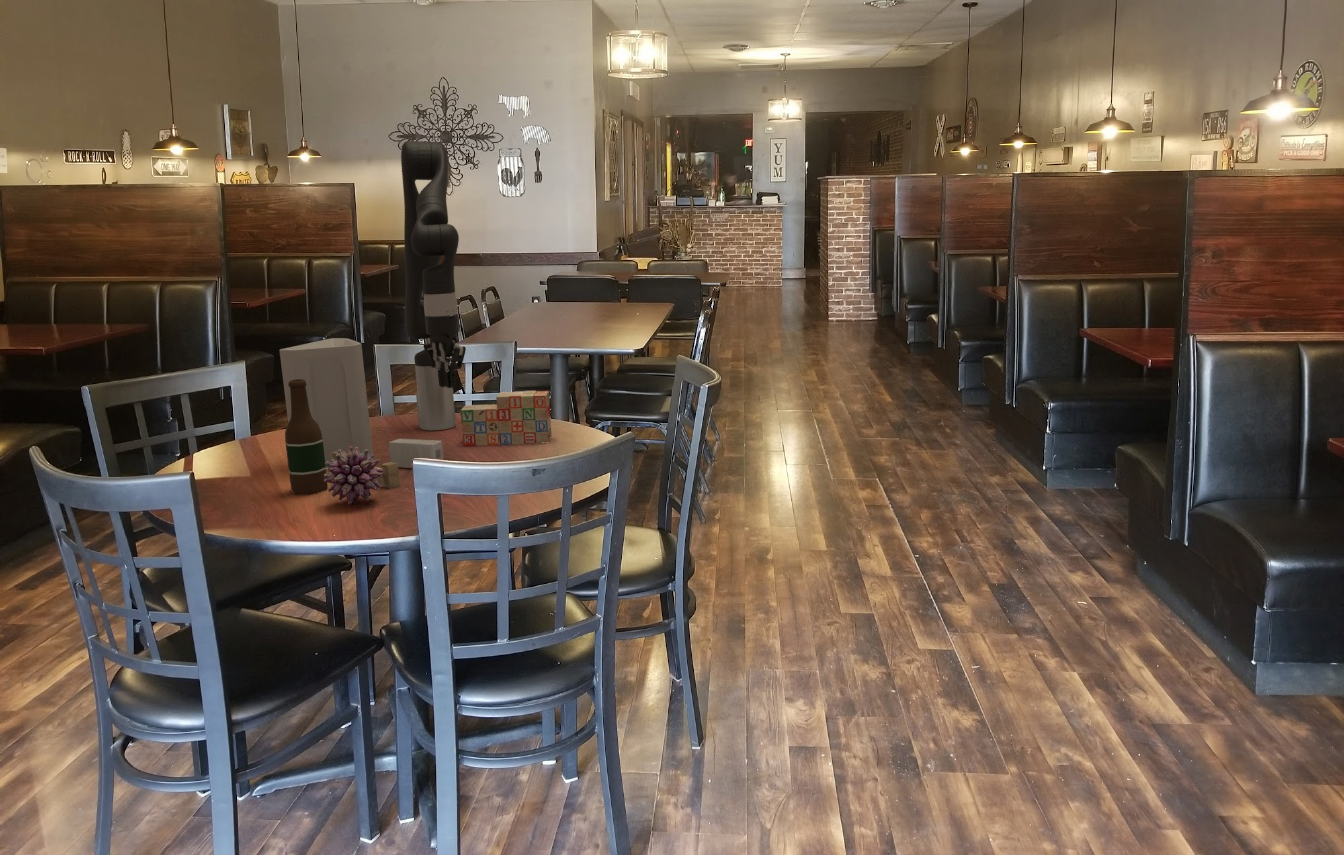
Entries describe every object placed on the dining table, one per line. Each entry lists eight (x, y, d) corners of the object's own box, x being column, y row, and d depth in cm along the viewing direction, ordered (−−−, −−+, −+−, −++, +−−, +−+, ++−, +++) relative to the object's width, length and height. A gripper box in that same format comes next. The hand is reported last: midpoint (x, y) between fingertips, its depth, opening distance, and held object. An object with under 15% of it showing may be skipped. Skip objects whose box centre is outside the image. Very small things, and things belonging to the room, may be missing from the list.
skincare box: (443, 440, 251) (398, 437, 255) (432, 444, 247) (387, 441, 251) (444, 466, 252) (400, 463, 257) (434, 470, 248) (390, 467, 253)
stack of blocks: (462, 446, 271) (458, 397, 268) (468, 441, 277) (463, 393, 274) (549, 443, 270) (545, 394, 268) (552, 438, 276) (549, 390, 274)
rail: (334, 474, 249) (332, 452, 248) (343, 471, 250) (341, 450, 249) (390, 488, 234) (388, 465, 233) (399, 485, 236) (397, 463, 235)
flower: (347, 515, 216) (341, 456, 213) (315, 505, 224) (308, 448, 221) (397, 501, 224) (391, 444, 222) (364, 492, 232) (358, 437, 229)
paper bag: (344, 473, 249) (331, 350, 243) (292, 469, 255) (277, 350, 249) (394, 453, 267) (383, 338, 261) (344, 450, 272) (332, 338, 266)
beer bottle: (295, 486, 239) (282, 378, 234) (332, 484, 240) (320, 376, 235) (286, 496, 232) (272, 384, 226) (324, 494, 232) (311, 382, 227)
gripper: (409, 313, 254) (416, 387, 258) (446, 316, 245) (452, 392, 249) (436, 309, 260) (443, 382, 263) (473, 312, 250) (479, 387, 254)
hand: (447, 386), depth 256 cm, fingers closed
